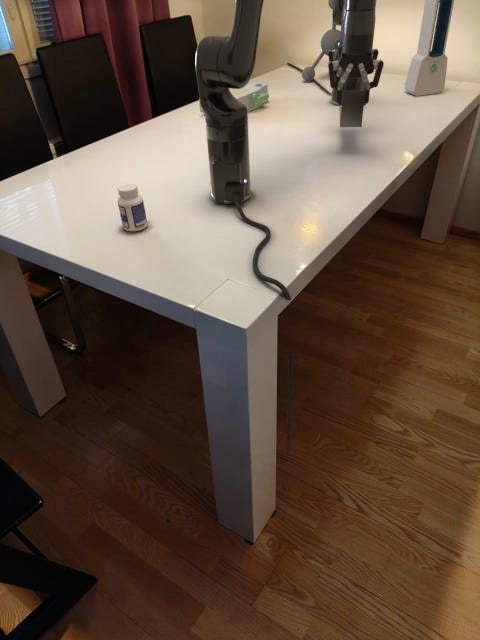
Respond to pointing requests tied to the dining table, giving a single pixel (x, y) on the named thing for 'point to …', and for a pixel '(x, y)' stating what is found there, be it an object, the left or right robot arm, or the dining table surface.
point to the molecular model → (323, 48)
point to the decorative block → (250, 95)
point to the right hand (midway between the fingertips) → (350, 89)
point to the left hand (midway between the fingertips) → (352, 104)
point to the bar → (352, 102)
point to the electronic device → (428, 63)
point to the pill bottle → (131, 208)
